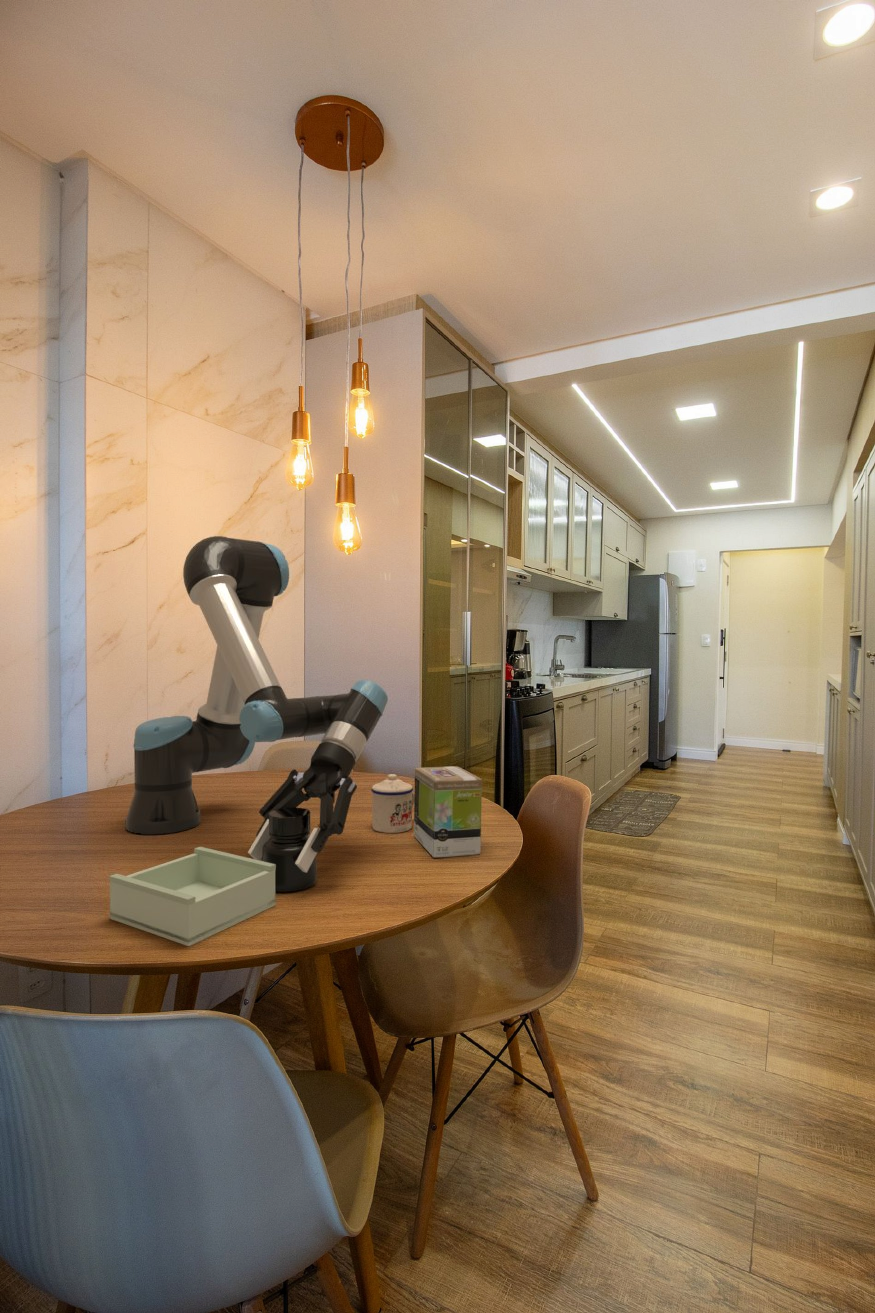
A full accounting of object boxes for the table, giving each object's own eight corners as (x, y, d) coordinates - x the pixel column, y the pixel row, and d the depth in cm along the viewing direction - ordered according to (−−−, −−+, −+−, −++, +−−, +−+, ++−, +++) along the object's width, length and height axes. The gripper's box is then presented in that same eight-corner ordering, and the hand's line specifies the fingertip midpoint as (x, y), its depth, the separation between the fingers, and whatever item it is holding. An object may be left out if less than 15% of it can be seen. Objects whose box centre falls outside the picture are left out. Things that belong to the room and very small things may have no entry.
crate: (109, 919, 96) (109, 876, 96) (200, 884, 110) (200, 846, 110) (188, 946, 87) (188, 899, 87) (275, 905, 101) (275, 864, 101)
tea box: (482, 855, 126) (483, 778, 126) (432, 859, 123) (432, 780, 123) (458, 833, 141) (458, 764, 140) (412, 836, 138) (412, 766, 138)
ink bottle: (307, 870, 117) (307, 803, 117) (327, 886, 109) (327, 814, 109) (252, 881, 112) (252, 810, 111) (269, 898, 104) (269, 822, 104)
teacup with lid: (394, 836, 138) (394, 780, 138) (362, 829, 143) (362, 775, 143) (429, 824, 147) (429, 772, 147) (398, 817, 153) (398, 767, 153)
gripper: (396, 770, 118) (340, 886, 104) (301, 759, 129) (240, 862, 116) (379, 745, 113) (318, 862, 100) (282, 735, 124) (216, 839, 111)
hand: (276, 862), depth 108 cm, fingers open, 10 cm apart
